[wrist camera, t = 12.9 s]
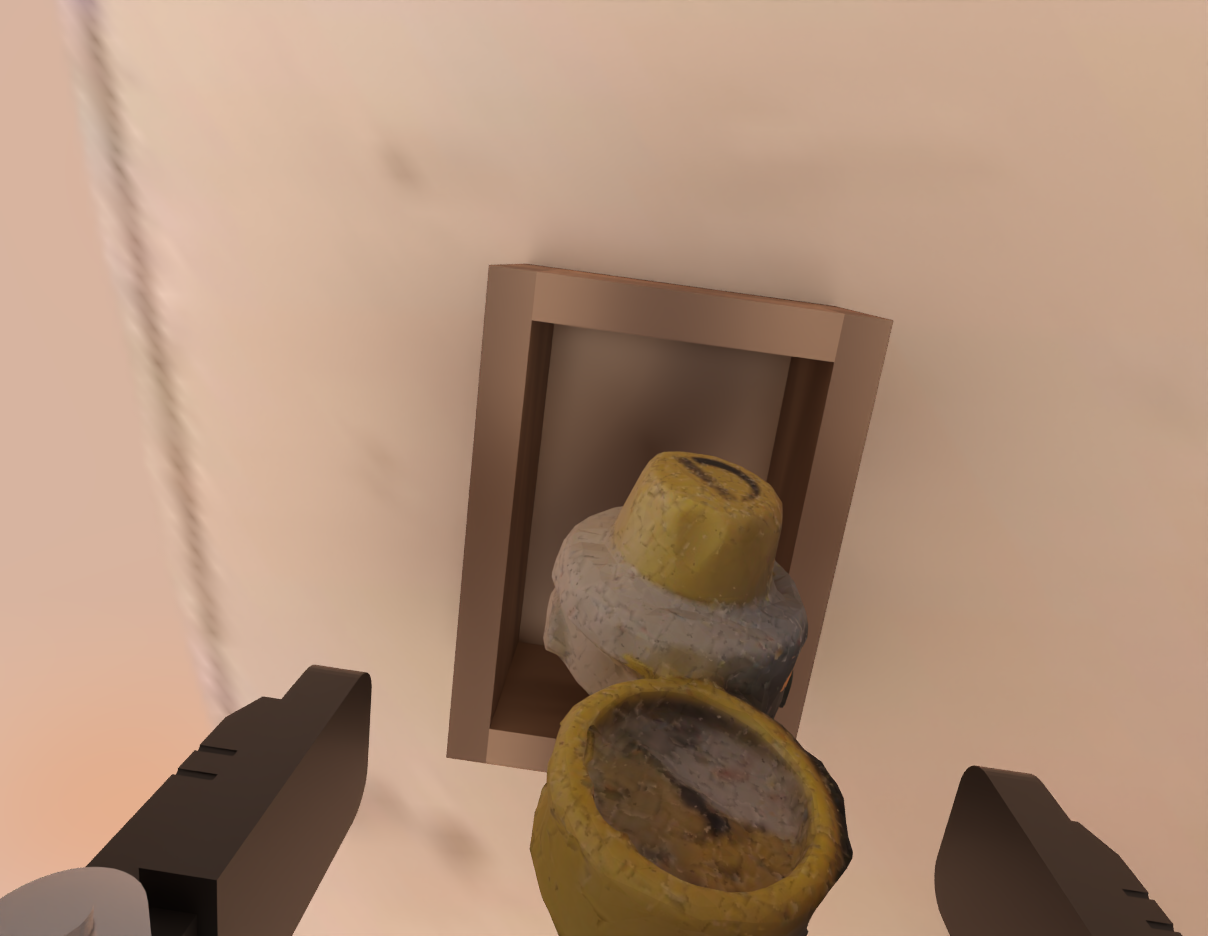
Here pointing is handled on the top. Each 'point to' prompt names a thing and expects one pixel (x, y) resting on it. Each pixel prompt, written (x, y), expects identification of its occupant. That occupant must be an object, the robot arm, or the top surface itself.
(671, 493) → the regulator
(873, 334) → the open wooden box
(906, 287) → the top surface
